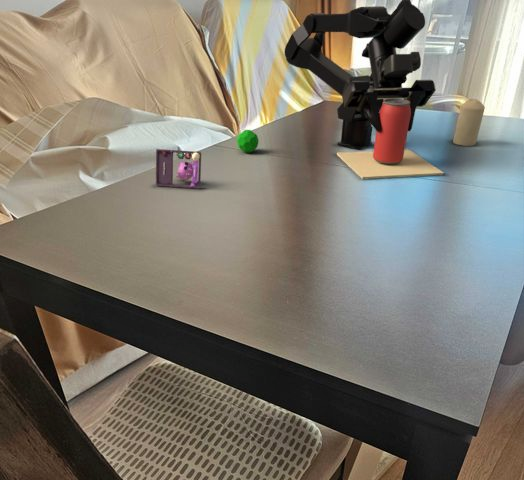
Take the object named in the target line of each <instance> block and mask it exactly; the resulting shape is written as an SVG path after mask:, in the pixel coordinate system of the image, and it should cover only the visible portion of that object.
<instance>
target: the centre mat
mask: <svg viewBox="0 0 524 480" xmlns="http://www.w3.org/2000/svg"><path fill="white" fill-rule="evenodd" d="M373 152H374V150H371V151H370V150H369V151H368V150H367V151H347V152H336V156H337V157H338V158H340V160H341V161H343V162H344V163H345V164H346V165H347V166H348V167H349V168H350V169H351V170H352V171H353V172H354V173H355V174H356V175H357V176H358V177H359V178H360V179H362V180H377V179H392V178H395V179H396V178H413V177H431V176H432V177H433V176H444V174H445V172H444V171H442V170H440V169H439V168H438V167H436V166H435V165H433V164H431V163H430V162H429V161H427V160H426V159H424V158H423V157H421V155H418V154H417V153H415V152H414V151H412V150H410V149H405V150H404V156H403V159H402V161H401V162H399V163H395V164H385V163H380V162H377V161H376V160H374V158H373Z"/></svg>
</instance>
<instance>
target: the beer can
mask: <svg viewBox="0 0 524 480" xmlns="http://www.w3.org/2000/svg"><path fill="white" fill-rule="evenodd" d="M379 116H380V121H381V131H380V132H377V130H376V132H375V138H374V146H373V151H374V152H373V158H374V160H376V161H377V162H380V163H385V164H395V163H399V162H401V161H402V159H403V156H404V150H406V144H407V139H408V133H409V131H408V128H409V122H410V117H411V108H410V101H408V100H404V99H384V100H383V104H382V106H381V108H380V111H379Z"/></svg>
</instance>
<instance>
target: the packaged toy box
mask: <svg viewBox="0 0 524 480" xmlns="http://www.w3.org/2000/svg"><path fill="white" fill-rule="evenodd" d="M174 153H175V154H176V153H177V154H176V156H177V158H178V160H183V159H184V158H185V160H191V158H192V160H193V162H192V161H182V162H179V163H178V165H179V166H178V168H177V169H178V170H177V171H176V174H177V176H176V178H178V179H179V180H181V181H189V180H191V179H192V181H191V182H190V185H183V184H173V183H174V182H173V180H174V179H173V178H174ZM201 174H202V152H201V151H193V150H191V151H190V150H180V149H179V150H176V149H163V148H161V149H160V148H157V149H156V150H155V185H156V186H157V187H159V186H160V187H171V188H172V187H173V188H185V189H186V188H188V189H201V178H202V177H201V176H202V175H201ZM195 184H197V186H196V185H195Z"/></svg>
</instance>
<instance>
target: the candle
mask: <svg viewBox="0 0 524 480" xmlns="http://www.w3.org/2000/svg"><path fill="white" fill-rule="evenodd" d="M485 109H486V107H485V104H483V102H481V101H480V100H479V99H478V98H470V99H467V100H465V102H463V103H462V104H461V105H460V109H459V113H458V117H457V122H456V127H455V131H454V136H453V139H452V140H453V142H452V143H453V144H455V145H458V146H463V147H464V146H465V147H470V146H471V147H472V146H476V144H477V141H478V138H479V137H478V136H479V133H480V128H481V125H482V121H483V118H484V117H483V116H484V112H485Z"/></svg>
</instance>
